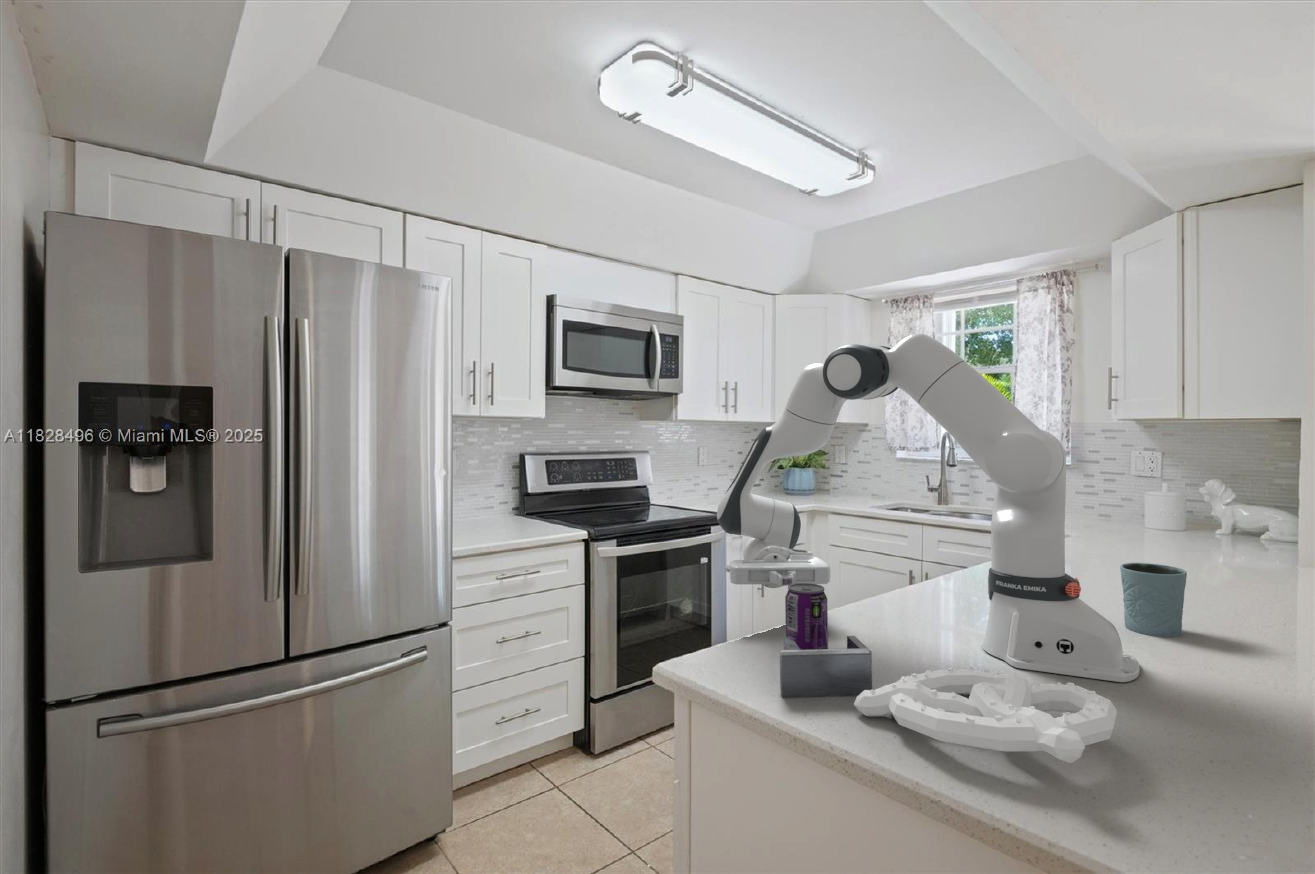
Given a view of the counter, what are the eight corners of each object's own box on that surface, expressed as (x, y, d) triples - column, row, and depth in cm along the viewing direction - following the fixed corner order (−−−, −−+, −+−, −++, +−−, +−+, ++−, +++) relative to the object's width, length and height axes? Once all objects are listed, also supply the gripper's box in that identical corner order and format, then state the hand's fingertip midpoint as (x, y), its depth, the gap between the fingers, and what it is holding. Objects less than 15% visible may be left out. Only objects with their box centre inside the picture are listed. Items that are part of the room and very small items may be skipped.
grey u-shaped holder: (769, 674, 101) (769, 633, 101) (854, 672, 102) (854, 631, 102) (782, 697, 93) (781, 652, 93) (875, 695, 93) (874, 650, 93)
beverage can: (829, 664, 105) (828, 592, 105) (785, 662, 107) (785, 591, 107) (826, 650, 112) (826, 582, 112) (785, 648, 114) (785, 581, 114)
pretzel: (840, 732, 85) (835, 682, 86) (936, 694, 99) (931, 651, 100) (1072, 799, 62) (1063, 730, 63) (1154, 737, 77) (1146, 682, 77)
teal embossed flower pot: (1163, 623, 126) (1162, 562, 126) (1201, 639, 116) (1201, 573, 116) (1108, 622, 127) (1108, 562, 127) (1142, 638, 117) (1141, 573, 117)
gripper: (723, 551, 135) (733, 565, 121) (818, 551, 136) (839, 564, 122) (723, 580, 135) (733, 598, 122) (818, 580, 136) (838, 597, 122)
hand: (787, 581), depth 122 cm, fingers closed
